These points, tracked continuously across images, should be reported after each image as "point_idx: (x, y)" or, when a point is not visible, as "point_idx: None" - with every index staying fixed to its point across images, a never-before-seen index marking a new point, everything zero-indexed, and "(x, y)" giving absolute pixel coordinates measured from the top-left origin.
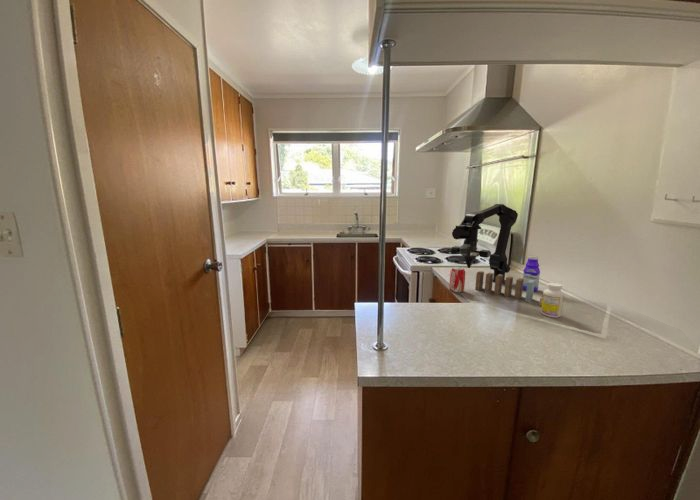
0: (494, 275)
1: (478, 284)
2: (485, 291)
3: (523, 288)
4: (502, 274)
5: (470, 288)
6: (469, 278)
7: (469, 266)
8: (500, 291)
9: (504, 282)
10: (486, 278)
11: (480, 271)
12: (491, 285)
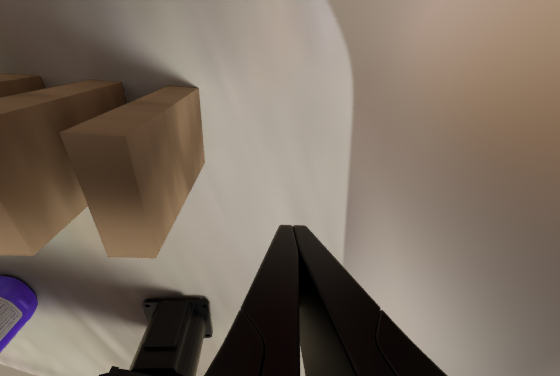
0: (177, 334)
1: (155, 96)
2: (108, 81)
3: (9, 280)
4: (136, 356)
5: (241, 101)
6: None
7: (278, 238)
8: None
9: (147, 314)
10: (4, 107)
11: (137, 235)
12: None
